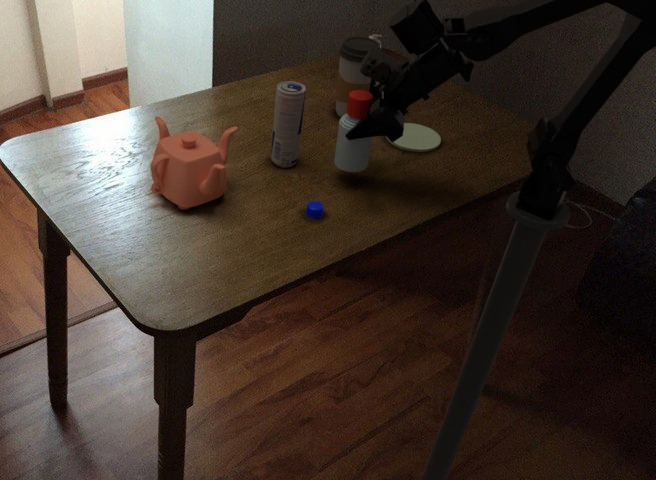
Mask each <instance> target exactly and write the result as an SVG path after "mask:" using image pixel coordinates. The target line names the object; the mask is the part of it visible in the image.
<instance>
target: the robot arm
mask: <svg viewBox="0 0 656 480" xmlns="http://www.w3.org/2000/svg"><path fill="white" fill-rule="evenodd" d="M604 4H610V5H611V6H614V7H616V8H618V9H619V10H621V11H624V12H625V13H626V14H625V16H624V19H623V22H622V25H621V28H620V31H619V34H618V36H617V37H616V39H615V40H614V41H613V42H612V44H611V45H610V47H609V48H608V49H607V50H606V52H605V53H604V54H603V56H602V57H601V58H600V59H599V61H598V63H597V64H596V65H595V66H594V67H593V69H591V70H592V71H591V72H590V73H589V74H588V76H587V77H586V78H585V79H584V81H583V82H582V84H581V85H580V86H579V87H578V89H577V90H576V92H575V93H574V94H573V95H572V97H570V100H569V101H568V102H567V104H566V105H565V106H564V108H562V110H561V111H560V112H559V113H558V114H557V115H556V116H554V117H552V118H551V119H547V118H546V117H545V116H541V117H540V119H538V122H537V124H536V126H534V128H533V129H532V130H531V131H530V132H528V133H527V138H528V140H527V141H526V151H527V154H528V159H529V163H530V166H531V170H532V171H531V172H530V173H529V175H528V176H527V177H526V178H524V180H523V183H522V185H521V188H520V190H519V191H520V194H519V196H518V200H520V201H519V202H518V203H517V204H516V207H517V208H519V209H521V210H524V211H526V212H528V213H531V214H533V215H536V216H538V217H540V218H543V219H545V220H548V221H551V220H552V219H553V217H554V216H555V215H556V214H557V213H558V212H559V211H560V210H561V208H562V207H563V204H562V202H564V199H565V196H566V194H567V193H568V192H569V191H570V190H571V189H572V188H574V186H575V185H576V183H577V181H576V179H575V175H574V172H573V170H572V167H571V164H570V162H571V160H572V158H573V157H574V155H575V153H576V152H577V148H578V145H579V143H580V139H581V136H582V134H583V132H584V131H585V129H586V128H587V127H588V125H589V124H590V123H591V121H592V120H593V119H594V118H595V116H597V114H598V113H599V111H601V110H602V108H603V107H604V106H605V104H606V103H607V102H608V100H609V99H610V98H611V97H612V95H613V94H614V93H615V91H616V90H617V89H618V88H619V87H620V85H621V84H622V83H623V81H624V80H625V79H626V77H627V76H629V74H630V73H631V72H632V70H633V69H634V68H635V66H636V65H637V64H638V63H639V62H640V60H641V59H642V58H643V57H644V56H645V55H646V54H647V53H649V52H650V51H652V50H653V49H654V48H656V0H525V1H522V2H520V3H517V4H513V5H506V6H493V7H488V8H485V9H479V10H477V11H473V12H471V13H469V14H467V15H466V16H456V17H455V16H454V17H440V15H439V14H438V13H437V12H436V10H435V8H434V7H433V5H432V2H431V0H413V1H411V2H410V3H409V4H407V3H406V4H405V5H403V6H402V7H401V8H400V9H399V10H398V11H397V12H395V13H394V14H393V16H392V17H391V18H390V20H389V21H388V22H387V26H388V28H389V29H390V30H391V32H392V33H393V34H394V35H395V37H396V38H397V40H398V41H399V42H400V43H401V45H402V46H403V48H404V49H405V50H406V51H407V53H408V54H409V55H412V54H414V55H415V56H416V57H417V56H418V57H417V58H415V59H414V60H411V59H410V58H408V59H407V58H406V59H404V60H402V61H401V62H399V61H397V60H395V59H394V57H392V56H390V55H389V54H386V53H385V52H384V51H382V50H381V51H380V50H378V49H377V48H375V47H371V48H370V50H369V51H368V53H367V54H366V56H365V57H364V59H363V60H362V62H361V68H360V72H361V73H362V74H363V75H364V76H366V77H370V78H371V80H370V87H369V92H370V93H371V94H372V95H373V101H372V105H371V104H370V102H369V103H368V109H367V114H366V115H365V116H364V117H363V118H362V119H361V120H360V121H359V122H358V123H357V124H356V125H355V126H354V127H352V128H351V129H350V130H349V131H348V132H347V133H346V135H345V137H346V138H347V139H348V140H354V139H360V138H367V137H372V138H375V137H384V136H385V137H386V136H387V137H388V139H389V140H390V141H391V142H394V141H396V140H397V139H399V138H400V137H402V136H403V131H404V123H405V118H404V116H406V115H407V114H409V109H410V107H411V106H413V105H414V104H416V103H417V102H419V101H420V100H421V99H422V100H423V101H424V102H426V101H427V100H429V99H430V98H431V93H432V92H433V91H434V90H436V89H437V88H439V87H440V86H442V85H443V84H445V83H446V82H448V81H449V80H451V79H452V78H453V77H455V76H456V75H458V74H459V75H460V76H461V78H462V79H463V80H464V81H465V83H469V82H470V81H471V76H472V72H473V70H474V67H475V62H477V63H478V62H484V61H487V60H489V59H491V58H493V57H494V56H496V55H498V54H499V53H501V52H503V51H505V50H507V49H508V48H509V47H510V46H512V45H513V44H514V43H515V42H517V40H519V39H520V38H522V37H524V36H526V35H528V34H530V33H532V32H535V31H538V30H541V29H543V28H545V27H548V26H551V25H553V24H555V23H558V22H561V21H563V20H566V19H568V18H571V17H573V16H576V15H579V14H581V13H583V12H586V11H589V10H591V9H594V8H596V7H600V6H601V5H604Z"/></svg>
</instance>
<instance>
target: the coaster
mask: <svg viewBox="0 0 656 480" xmlns="http://www.w3.org/2000/svg"><path fill="white" fill-rule="evenodd" d="M385 138H386V140H387V142H388V143H389V144H391V145H392V146H394V147H396V148H397V149H401V150H403V151H408V152H413V153H426V152H427V153H428V152H431V151H435V150H436V149H438V148H439V147H440V146H441V142H442V137H441V136H440V134H439V133H438V132H437V131H435V130H434V129H433V128H431V127H428V126H425V125H423V124H419V123H413V122H404V131H403V136H402V137H400V138H399V139H397V140H396V141H394V142H391V141H390V140H389V139H388V137H387V136H385Z"/></svg>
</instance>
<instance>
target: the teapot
mask: <svg viewBox="0 0 656 480" xmlns="http://www.w3.org/2000/svg"><path fill="white" fill-rule="evenodd" d="M154 120H155V122H156V124H157V127H158V132H159V137H158V139H159V140H158V142H157V144H156V147H155V149H154V153H153V157H152V160H151V162H150V166H149V167H150V172H151V173H150V174H151V179H152V182H153V183H151V187H150V190H151V191H152V193H153V194H155V195H161V194H162V196H164V198H166V199H167V200H169V201H170V202H172V203H174V204H175V205H177V207H178V209H180V210H182V211H183V210H184V211H185V210H190V209H191V208H193V207H197V206H200V205H203V204H205V203H208V202H212V201H214V200H217V199H218V198H220V197H222V196H223V195H224V193H225V191H226V189H227V186H228V178H227V177H228V176H227V171H226V163H227V160H228V157H229V149H230V141H231V138H232V136H233V134H234V133H235V132H236V131H237V130H238V126H231V127H229V128H227V129H226V130H225V131H224V132H223V134H222V135H221V137H220V140H219V142H218V145H216V144H215V143H214V142H212V141H211V140H210V139H209V138H207V137H205V136H204V135H203V134H201V133H199V132H196V131H193V130H188V131H184V132H180V133H176V134H173V135H171V133H170V131H169V128H168V126H167V124H166V122H165V120H164V119H163V118H162V117H160V116H157V115H155V116H154Z"/></svg>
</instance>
